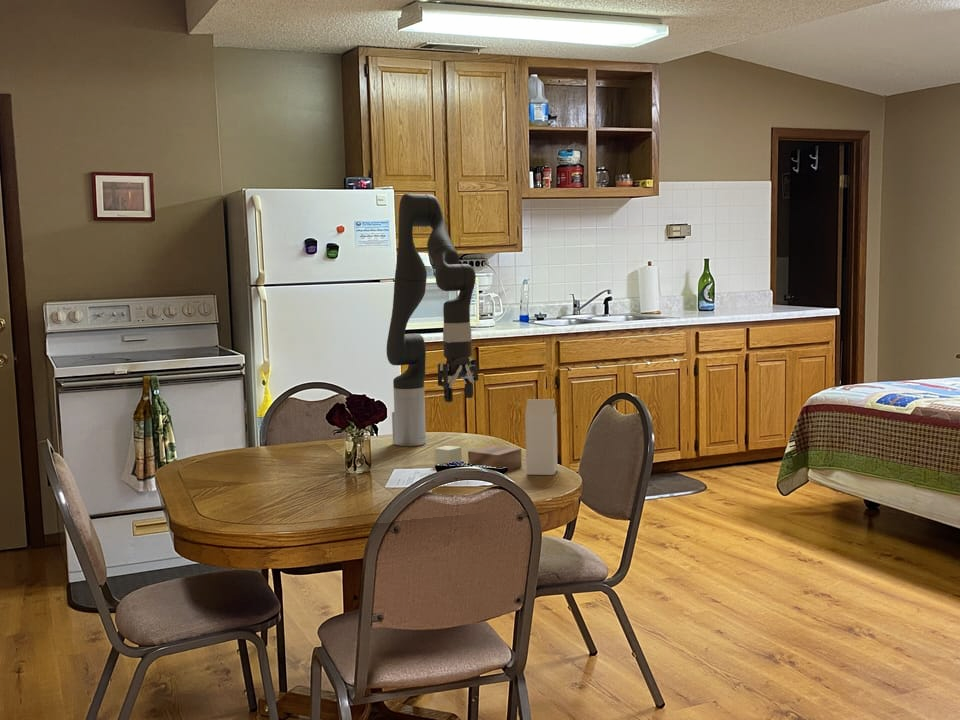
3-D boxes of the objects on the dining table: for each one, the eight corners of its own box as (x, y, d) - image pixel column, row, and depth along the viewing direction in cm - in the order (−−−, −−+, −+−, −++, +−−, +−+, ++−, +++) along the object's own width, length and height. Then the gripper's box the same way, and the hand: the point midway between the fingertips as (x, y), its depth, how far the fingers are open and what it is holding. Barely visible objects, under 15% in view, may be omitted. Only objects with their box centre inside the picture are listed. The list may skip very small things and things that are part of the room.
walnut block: (468, 469, 265) (468, 451, 265) (491, 463, 273) (491, 445, 272) (498, 474, 259) (498, 455, 258) (521, 467, 267) (521, 448, 266)
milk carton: (554, 475, 254) (552, 401, 252) (526, 475, 256) (524, 401, 254) (557, 469, 261) (556, 397, 259) (530, 469, 263) (529, 397, 261)
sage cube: (435, 466, 269) (434, 448, 269) (447, 463, 273) (447, 445, 273) (449, 468, 266) (449, 450, 266) (461, 465, 270) (461, 447, 269)
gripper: (463, 337, 275) (464, 395, 277) (429, 341, 264) (430, 402, 266) (484, 337, 270) (486, 397, 272) (451, 342, 259) (452, 404, 261)
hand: (458, 399), depth 269 cm, fingers open, 8 cm apart
